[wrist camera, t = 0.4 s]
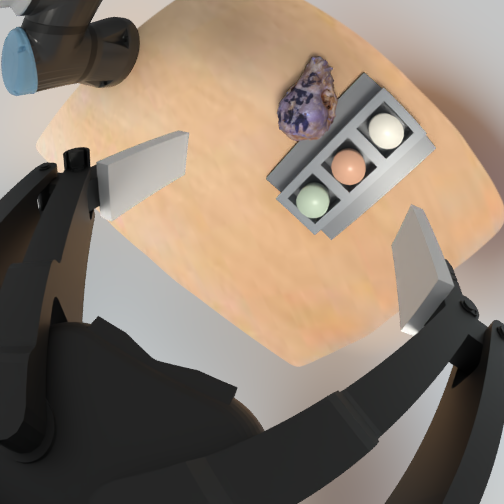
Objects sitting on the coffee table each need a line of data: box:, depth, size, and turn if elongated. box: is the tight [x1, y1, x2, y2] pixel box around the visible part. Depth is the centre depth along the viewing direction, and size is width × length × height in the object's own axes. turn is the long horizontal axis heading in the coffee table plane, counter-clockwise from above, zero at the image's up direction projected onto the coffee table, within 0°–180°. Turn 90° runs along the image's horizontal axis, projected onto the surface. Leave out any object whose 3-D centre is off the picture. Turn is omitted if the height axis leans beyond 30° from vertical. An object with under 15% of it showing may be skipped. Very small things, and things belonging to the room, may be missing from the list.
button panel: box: [266, 73, 436, 240], centre depth 35 cm, size 14×22×4 cm, turn 143°
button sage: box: [296, 182, 330, 218], centre depth 38 cm, size 4×4×2 cm
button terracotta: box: [331, 148, 366, 185], centre depth 34 cm, size 4×4×2 cm
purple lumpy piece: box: [277, 56, 338, 141], centre depth 31 cm, size 12×8×6 cm, turn 161°
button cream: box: [368, 113, 404, 149], centre depth 30 cm, size 4×4×2 cm
